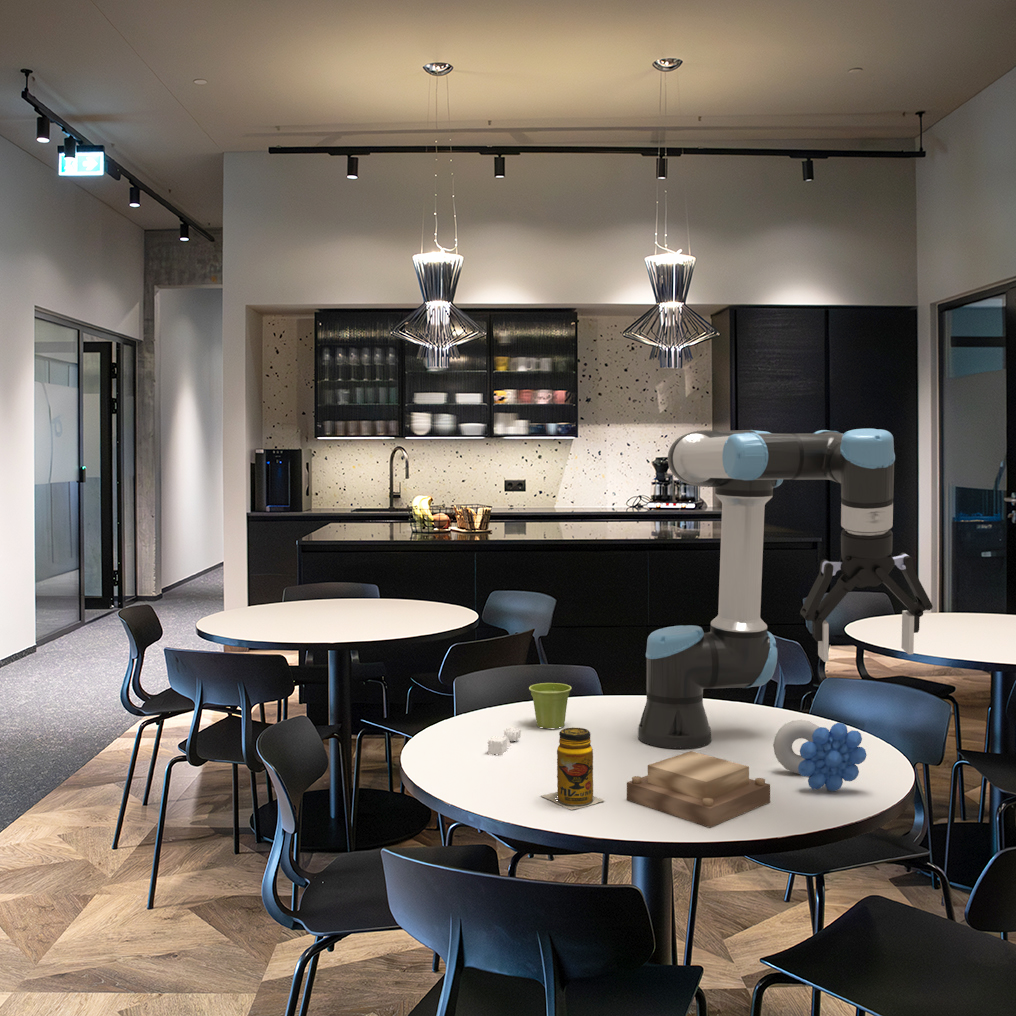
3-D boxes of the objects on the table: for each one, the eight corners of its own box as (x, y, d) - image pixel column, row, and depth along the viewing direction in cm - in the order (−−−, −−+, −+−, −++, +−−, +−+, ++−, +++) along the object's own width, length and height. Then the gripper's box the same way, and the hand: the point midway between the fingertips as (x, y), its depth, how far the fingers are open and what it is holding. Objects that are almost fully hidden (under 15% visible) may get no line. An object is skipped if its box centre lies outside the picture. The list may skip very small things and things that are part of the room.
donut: (828, 772, 170) (828, 718, 170) (831, 778, 166) (831, 723, 166) (772, 769, 172) (772, 716, 171) (774, 775, 168) (774, 721, 168)
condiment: (571, 811, 150) (571, 738, 150) (540, 796, 157) (540, 727, 157) (605, 802, 155) (605, 731, 154) (573, 788, 161) (573, 721, 161)
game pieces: (502, 757, 181) (502, 741, 181) (487, 756, 182) (486, 740, 182) (522, 740, 192) (522, 725, 192) (507, 739, 193) (507, 724, 193)
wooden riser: (626, 799, 155) (626, 764, 155) (688, 778, 167) (688, 745, 167) (709, 827, 143) (709, 789, 143) (770, 802, 154) (770, 766, 154)
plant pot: (540, 733, 197) (540, 693, 196) (522, 723, 205) (522, 685, 205) (578, 729, 200) (578, 689, 200) (559, 719, 209) (559, 681, 209)
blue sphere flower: (857, 783, 163) (858, 716, 163) (870, 796, 157) (871, 726, 156) (791, 782, 164) (792, 716, 164) (801, 795, 157) (802, 725, 157)
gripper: (794, 542, 139) (795, 671, 145) (958, 528, 139) (953, 657, 144) (779, 529, 146) (781, 651, 152) (935, 515, 146) (931, 639, 151)
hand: (865, 654), depth 148 cm, fingers open, 13 cm apart
